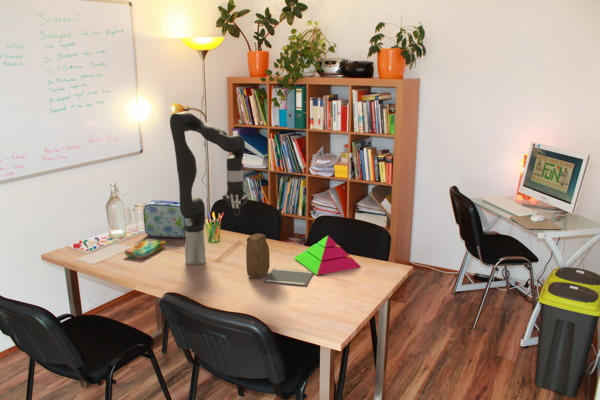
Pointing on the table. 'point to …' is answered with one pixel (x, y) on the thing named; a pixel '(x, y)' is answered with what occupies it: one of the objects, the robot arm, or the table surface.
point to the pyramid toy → (326, 258)
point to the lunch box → (164, 219)
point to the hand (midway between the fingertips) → (236, 215)
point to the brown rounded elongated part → (257, 256)
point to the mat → (289, 277)
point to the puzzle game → (145, 248)
